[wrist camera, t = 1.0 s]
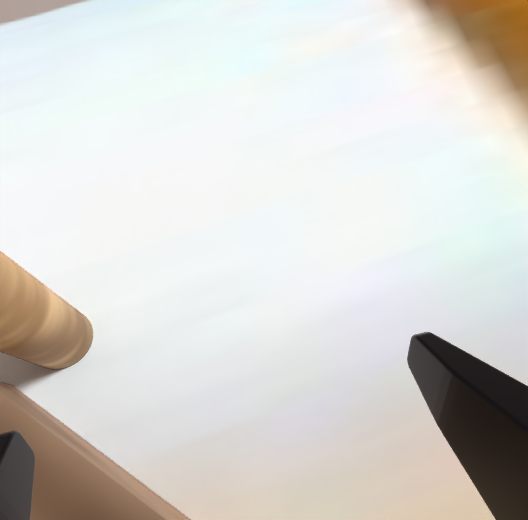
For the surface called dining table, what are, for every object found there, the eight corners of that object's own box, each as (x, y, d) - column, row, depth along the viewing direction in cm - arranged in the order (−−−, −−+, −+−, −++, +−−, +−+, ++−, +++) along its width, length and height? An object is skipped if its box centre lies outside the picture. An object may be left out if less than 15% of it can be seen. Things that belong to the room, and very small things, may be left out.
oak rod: (63, 381, 23) (-97, 333, 12) (17, 347, 23) (-176, 272, 12) (105, 329, 24) (-4, 244, 13) (61, 299, 25) (-79, 193, 14)
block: (150, 645, 18) (135, 683, 16) (-62, 468, 21) (-107, 474, 18) (212, 536, 20) (208, 552, 17) (11, 384, 23) (-20, 378, 20)
